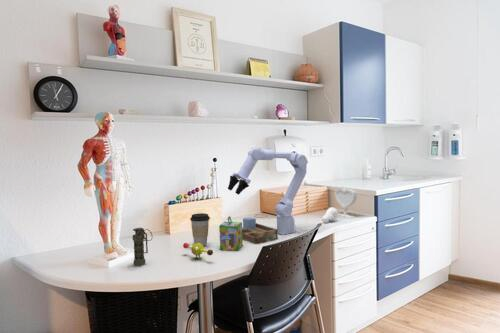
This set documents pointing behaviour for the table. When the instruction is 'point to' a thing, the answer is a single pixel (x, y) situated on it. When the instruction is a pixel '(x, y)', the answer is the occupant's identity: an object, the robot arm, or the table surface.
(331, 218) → the penguin figurine
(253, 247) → the table surface
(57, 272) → the table surface
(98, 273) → the table surface
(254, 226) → the block
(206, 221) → the coffee cup
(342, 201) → the heart sculpture
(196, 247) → the toy figure
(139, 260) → the grenade
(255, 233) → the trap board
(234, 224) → the green printed box
